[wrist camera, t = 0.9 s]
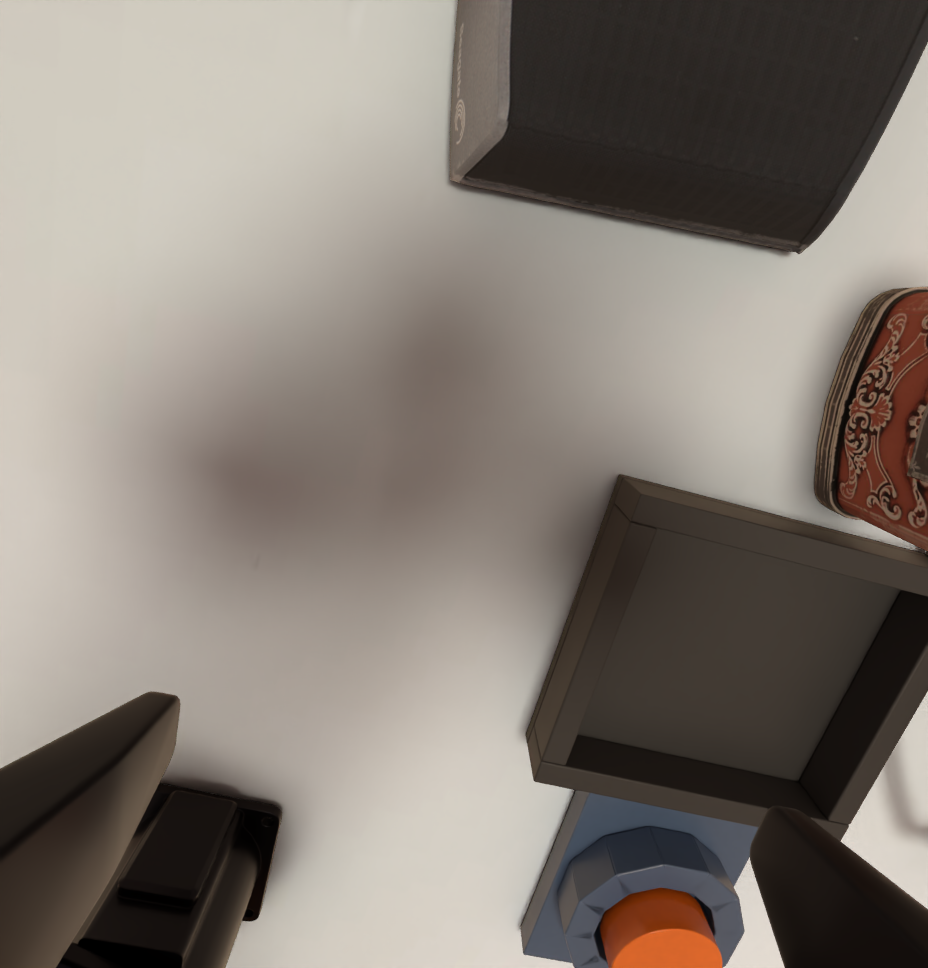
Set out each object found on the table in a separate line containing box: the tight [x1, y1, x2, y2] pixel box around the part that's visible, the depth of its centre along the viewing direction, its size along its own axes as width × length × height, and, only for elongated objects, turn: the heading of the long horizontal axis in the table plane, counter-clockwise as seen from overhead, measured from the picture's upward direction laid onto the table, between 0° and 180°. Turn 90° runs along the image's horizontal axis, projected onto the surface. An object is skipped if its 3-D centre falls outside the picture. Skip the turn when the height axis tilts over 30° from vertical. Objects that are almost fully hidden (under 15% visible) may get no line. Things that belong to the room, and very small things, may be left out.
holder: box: [526, 475, 928, 841], centre depth 21 cm, size 12×13×2 cm
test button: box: [600, 887, 722, 968], centre depth 23 cm, size 4×4×2 cm
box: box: [521, 790, 759, 968], centre depth 24 cm, size 10×8×3 cm
